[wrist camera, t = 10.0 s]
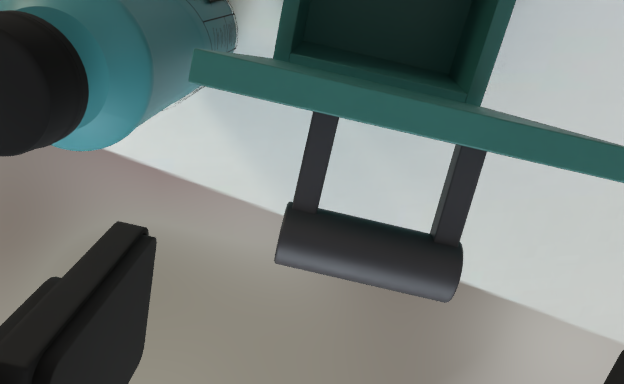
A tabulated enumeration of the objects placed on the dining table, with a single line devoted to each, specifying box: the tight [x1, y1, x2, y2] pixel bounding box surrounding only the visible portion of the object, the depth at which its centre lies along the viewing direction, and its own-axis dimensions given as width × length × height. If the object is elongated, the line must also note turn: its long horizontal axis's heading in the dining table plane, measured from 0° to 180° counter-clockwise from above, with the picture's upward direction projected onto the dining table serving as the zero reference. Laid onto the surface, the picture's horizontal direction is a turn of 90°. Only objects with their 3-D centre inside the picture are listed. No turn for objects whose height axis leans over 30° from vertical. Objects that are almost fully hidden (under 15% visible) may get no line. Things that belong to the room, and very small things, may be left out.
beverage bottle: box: [0, 0, 238, 156], centre depth 24 cm, size 6×7×20 cm
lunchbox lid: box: [188, 48, 624, 303], centre depth 20 cm, size 14×11×5 cm
